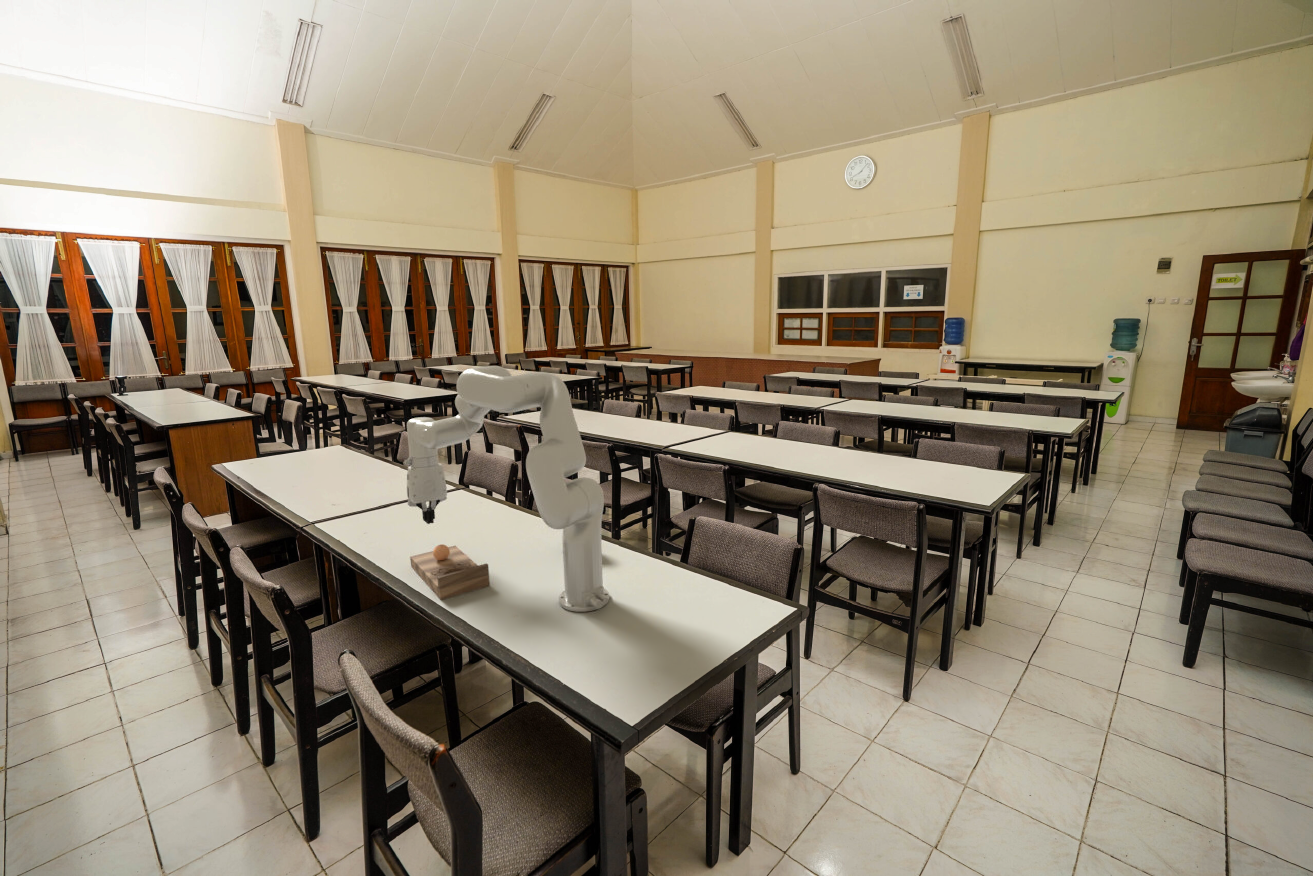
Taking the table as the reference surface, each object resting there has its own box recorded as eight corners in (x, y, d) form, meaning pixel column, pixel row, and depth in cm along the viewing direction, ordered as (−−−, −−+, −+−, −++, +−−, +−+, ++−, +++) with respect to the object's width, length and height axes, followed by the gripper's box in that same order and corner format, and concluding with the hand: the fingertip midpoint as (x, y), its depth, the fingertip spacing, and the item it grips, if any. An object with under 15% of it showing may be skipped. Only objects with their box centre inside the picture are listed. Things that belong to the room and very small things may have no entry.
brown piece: (489, 585, 159) (488, 564, 158) (440, 600, 151) (438, 578, 150) (456, 555, 179) (454, 536, 178) (411, 566, 171) (409, 546, 170)
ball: (452, 560, 168) (451, 545, 167) (436, 564, 165) (435, 549, 164) (447, 555, 171) (446, 540, 170) (431, 559, 169) (430, 544, 168)
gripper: (400, 468, 162) (406, 531, 166) (455, 460, 170) (459, 520, 174) (392, 462, 167) (398, 524, 171) (446, 454, 176) (450, 513, 180)
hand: (429, 522), depth 173 cm, fingers closed
